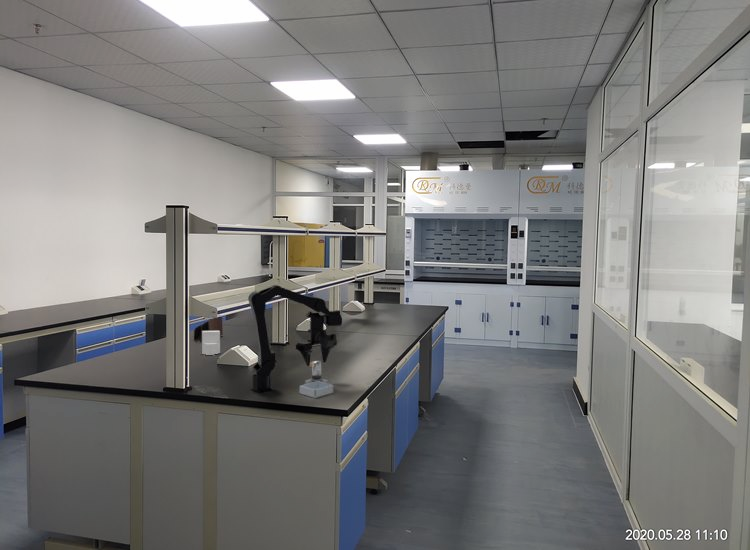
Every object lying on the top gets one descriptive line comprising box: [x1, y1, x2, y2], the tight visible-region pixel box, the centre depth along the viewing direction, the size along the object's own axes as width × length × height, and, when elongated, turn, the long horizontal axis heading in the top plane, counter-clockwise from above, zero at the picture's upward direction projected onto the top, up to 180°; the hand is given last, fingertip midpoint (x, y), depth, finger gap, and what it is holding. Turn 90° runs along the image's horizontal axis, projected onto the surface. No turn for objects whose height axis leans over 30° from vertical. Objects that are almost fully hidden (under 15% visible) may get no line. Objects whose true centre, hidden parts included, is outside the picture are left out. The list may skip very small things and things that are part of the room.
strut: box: [308, 360, 322, 379], centre depth 223 cm, size 4×6×7 cm, turn 49°
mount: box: [304, 376, 329, 385], centre depth 222 cm, size 7×7×2 cm
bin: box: [298, 381, 334, 399], centre depth 209 cm, size 10×9×3 cm
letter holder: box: [193, 316, 224, 342], centre depth 317 cm, size 10×20×14 cm, turn 175°
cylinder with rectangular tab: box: [201, 331, 221, 356], centre depth 277 cm, size 9×9×12 cm
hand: (316, 364), depth 222 cm, fingers open, 9 cm apart
